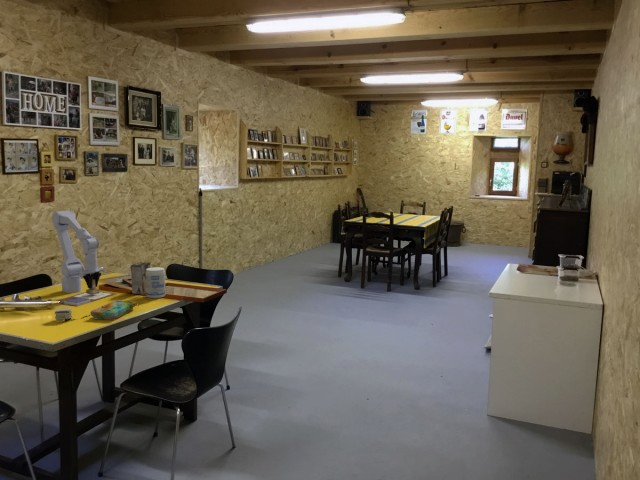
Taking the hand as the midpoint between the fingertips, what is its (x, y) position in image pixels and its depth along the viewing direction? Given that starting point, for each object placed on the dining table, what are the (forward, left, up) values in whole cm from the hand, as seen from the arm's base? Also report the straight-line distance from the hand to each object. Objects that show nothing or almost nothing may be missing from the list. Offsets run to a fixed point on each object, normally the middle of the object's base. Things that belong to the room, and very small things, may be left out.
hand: (92, 287), depth 279 cm
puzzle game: (+32, -19, -6) cm, 38 cm away
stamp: (0, 0, -3) cm, 3 cm away
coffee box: (+17, +17, -6) cm, 25 cm away
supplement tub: (+28, +15, -6) cm, 32 cm away
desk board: (0, -5, -5) cm, 8 cm away
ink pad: (+4, -14, -4) cm, 15 cm away
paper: (0, 0, -4) cm, 4 cm away
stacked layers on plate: (+19, -35, -6) cm, 41 cm away
